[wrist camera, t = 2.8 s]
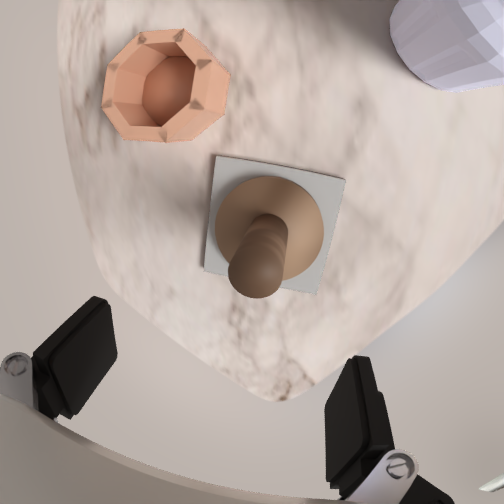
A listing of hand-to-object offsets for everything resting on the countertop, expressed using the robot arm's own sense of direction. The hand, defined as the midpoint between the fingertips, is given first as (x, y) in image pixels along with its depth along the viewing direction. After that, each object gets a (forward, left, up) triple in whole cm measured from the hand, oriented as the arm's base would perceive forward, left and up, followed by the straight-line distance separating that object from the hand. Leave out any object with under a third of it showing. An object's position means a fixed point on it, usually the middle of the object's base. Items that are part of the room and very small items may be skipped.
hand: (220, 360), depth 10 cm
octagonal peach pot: (+9, -11, -15) cm, 20 cm away
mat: (0, -1, -15) cm, 15 cm away
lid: (0, -1, -14) cm, 14 cm away
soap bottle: (-11, -20, -15) cm, 27 cm away
